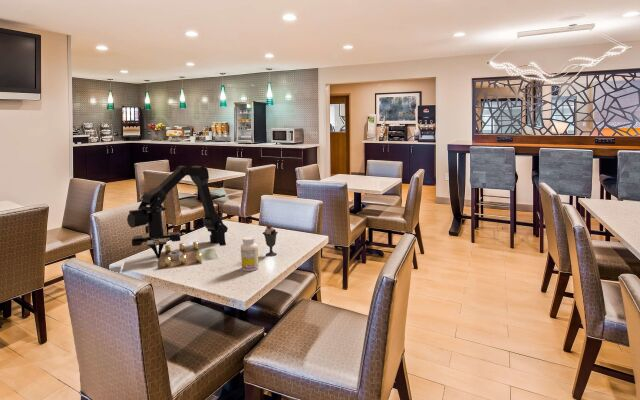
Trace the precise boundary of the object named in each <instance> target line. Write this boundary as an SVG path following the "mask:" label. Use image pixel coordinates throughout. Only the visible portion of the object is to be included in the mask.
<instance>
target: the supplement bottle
mask: <svg viewBox="0 0 640 400" xmlns="http://www.w3.org/2000/svg"><path fill="white" fill-rule="evenodd" d="M255 240H256V239H255V236H250V235H249V236H245V237H244V236H243V238H242V242H243V243H242V244H241V245H240V254H241V255H240V257H241V259H240V260H241V269H242V270H243V271H246V272H254V271H256V270H257V269H259V268H260V267H259V264H260V263H259V250H258V249H259V248H258V244H257V243H256V242H255Z"/></svg>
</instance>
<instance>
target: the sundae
mask: <svg viewBox="0 0 640 400" xmlns="http://www.w3.org/2000/svg"><path fill="white" fill-rule="evenodd" d="M265 223H266V224H267V226H266V228H265V230H264V231H263V232H262V235H263V236H264V239H265V240H264V241H265V244H266V246H267V247H268V248H269V252H267V253H265V256H267V257H275V256H277V255H278V253H277V252H274V251H273V247H274V246H275V245H276V241H277V234H278V233H279V232H278V231H276V228H274V227H273V226H270V225H269V223H268V221H265Z"/></svg>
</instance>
